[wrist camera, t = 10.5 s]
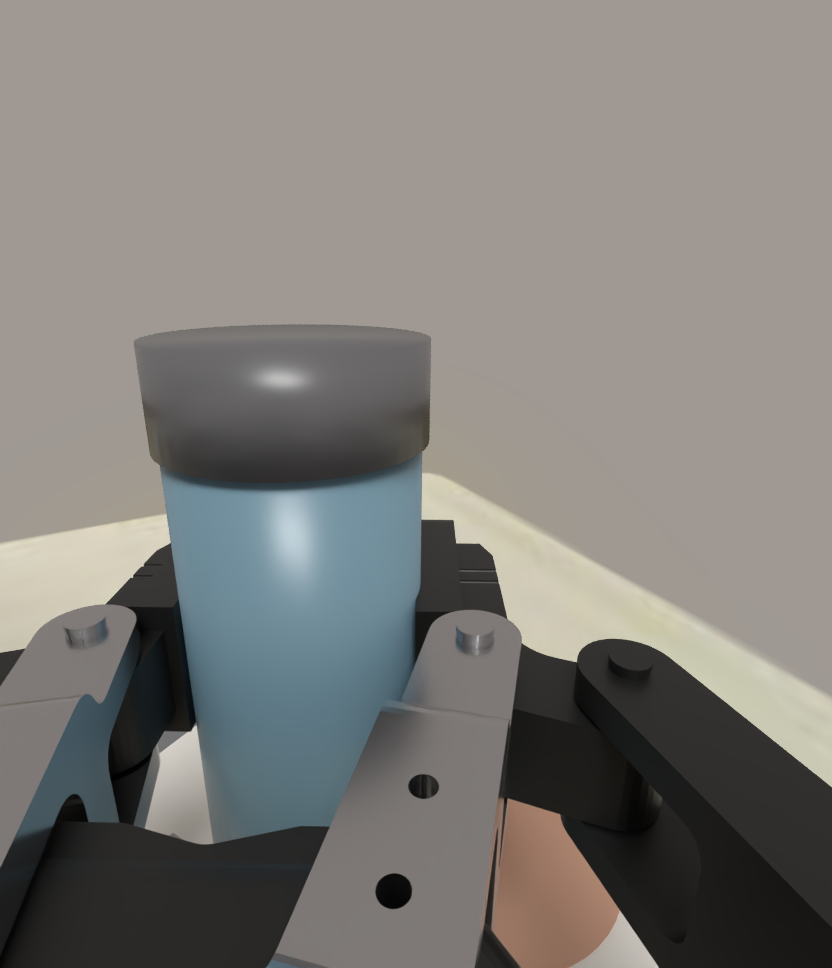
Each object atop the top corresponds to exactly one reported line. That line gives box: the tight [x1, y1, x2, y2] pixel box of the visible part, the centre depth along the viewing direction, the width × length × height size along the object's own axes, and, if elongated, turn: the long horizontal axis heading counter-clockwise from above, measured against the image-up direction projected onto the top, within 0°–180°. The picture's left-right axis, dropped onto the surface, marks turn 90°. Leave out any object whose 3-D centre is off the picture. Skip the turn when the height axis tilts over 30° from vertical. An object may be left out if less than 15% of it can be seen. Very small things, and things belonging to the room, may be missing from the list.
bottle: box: [134, 325, 431, 844], centre depth 10 cm, size 4×4×12 cm
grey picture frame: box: [145, 723, 659, 968], centre depth 14 cm, size 19×14×1 cm
